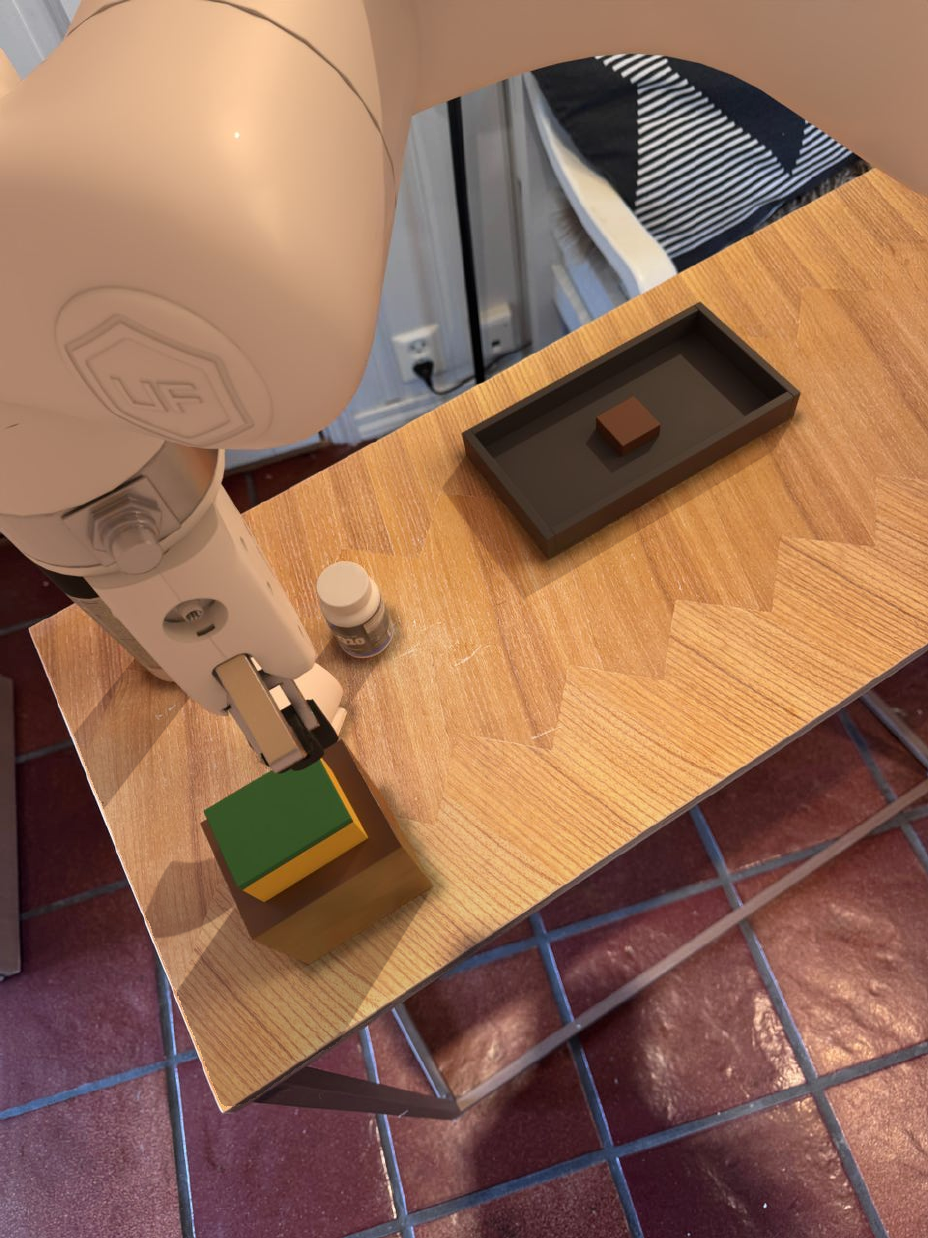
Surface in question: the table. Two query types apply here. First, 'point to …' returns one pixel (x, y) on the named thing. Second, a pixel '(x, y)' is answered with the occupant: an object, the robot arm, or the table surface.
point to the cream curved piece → (316, 694)
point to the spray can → (103, 617)
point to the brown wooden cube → (336, 877)
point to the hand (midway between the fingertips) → (266, 671)
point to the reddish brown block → (627, 426)
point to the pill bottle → (354, 609)
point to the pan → (616, 485)
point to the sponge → (283, 828)
